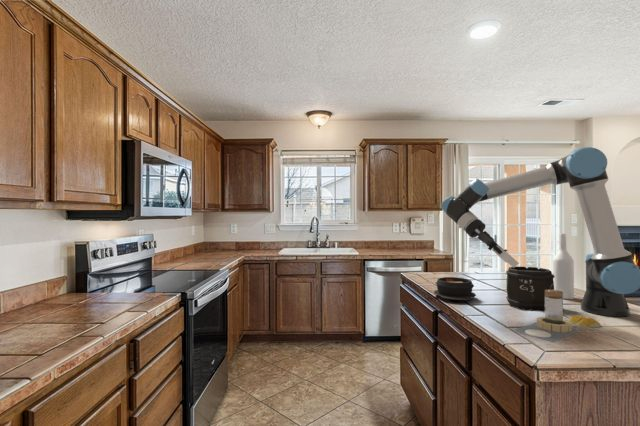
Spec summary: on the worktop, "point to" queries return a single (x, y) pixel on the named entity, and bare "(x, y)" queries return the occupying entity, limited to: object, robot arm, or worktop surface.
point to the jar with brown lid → (553, 306)
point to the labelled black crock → (528, 287)
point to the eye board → (547, 330)
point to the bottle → (563, 270)
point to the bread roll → (584, 321)
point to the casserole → (454, 288)
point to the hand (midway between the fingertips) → (512, 263)
